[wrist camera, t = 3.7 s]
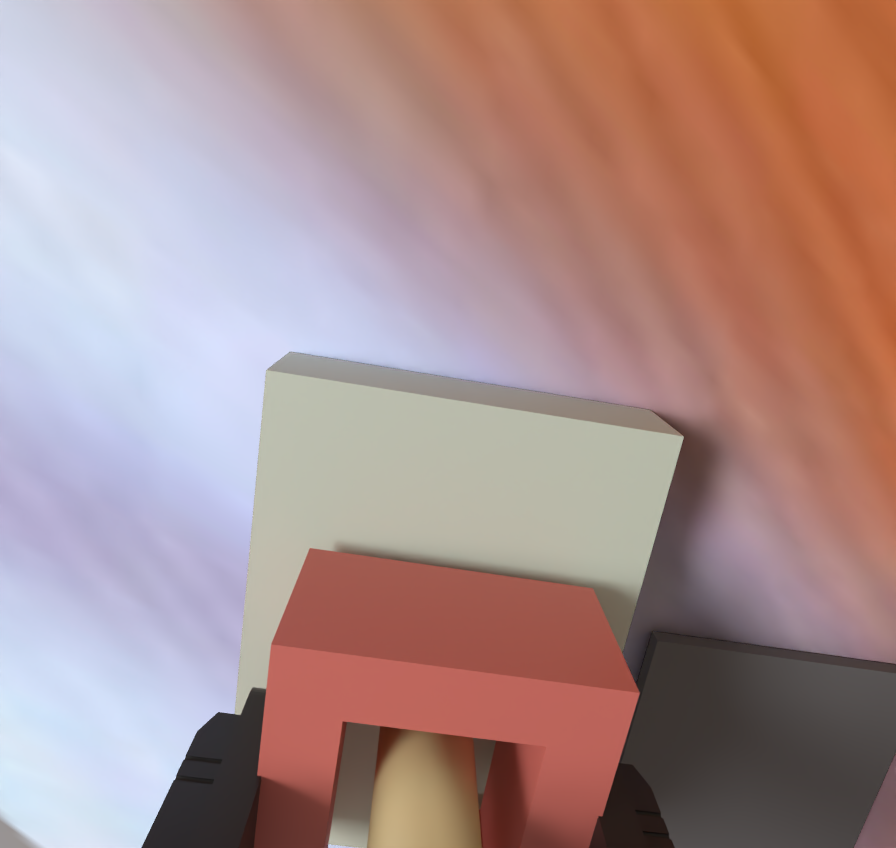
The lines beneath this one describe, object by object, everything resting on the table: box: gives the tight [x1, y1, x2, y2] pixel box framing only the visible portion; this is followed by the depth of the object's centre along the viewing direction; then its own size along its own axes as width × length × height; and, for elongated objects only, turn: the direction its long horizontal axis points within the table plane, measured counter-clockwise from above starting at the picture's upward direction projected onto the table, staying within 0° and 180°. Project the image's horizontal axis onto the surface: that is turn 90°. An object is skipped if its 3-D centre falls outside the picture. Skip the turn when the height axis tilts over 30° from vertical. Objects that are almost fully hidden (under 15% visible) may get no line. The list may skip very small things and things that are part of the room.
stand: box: [235, 352, 684, 848], centre depth 12 cm, size 11×8×7 cm
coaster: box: [619, 631, 896, 848], centre depth 17 cm, size 7×7×1 cm
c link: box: [254, 548, 640, 848], centre depth 12 cm, size 7×6×3 cm
